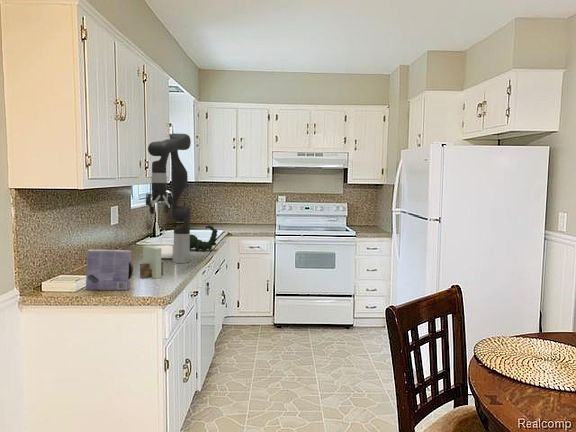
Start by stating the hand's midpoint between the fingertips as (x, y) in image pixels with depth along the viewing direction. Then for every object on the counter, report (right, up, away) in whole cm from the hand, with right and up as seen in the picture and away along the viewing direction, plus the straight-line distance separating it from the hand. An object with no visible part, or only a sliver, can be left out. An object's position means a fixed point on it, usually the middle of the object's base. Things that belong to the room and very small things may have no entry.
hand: (159, 213), depth 235 cm
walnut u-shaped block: (-3, -32, -3) cm, 32 cm away
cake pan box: (-13, -34, -31) cm, 48 cm away
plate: (-11, -27, +55) cm, 63 cm away
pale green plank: (-3, -32, -3) cm, 32 cm away
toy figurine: (+5, -26, +79) cm, 83 cm away
